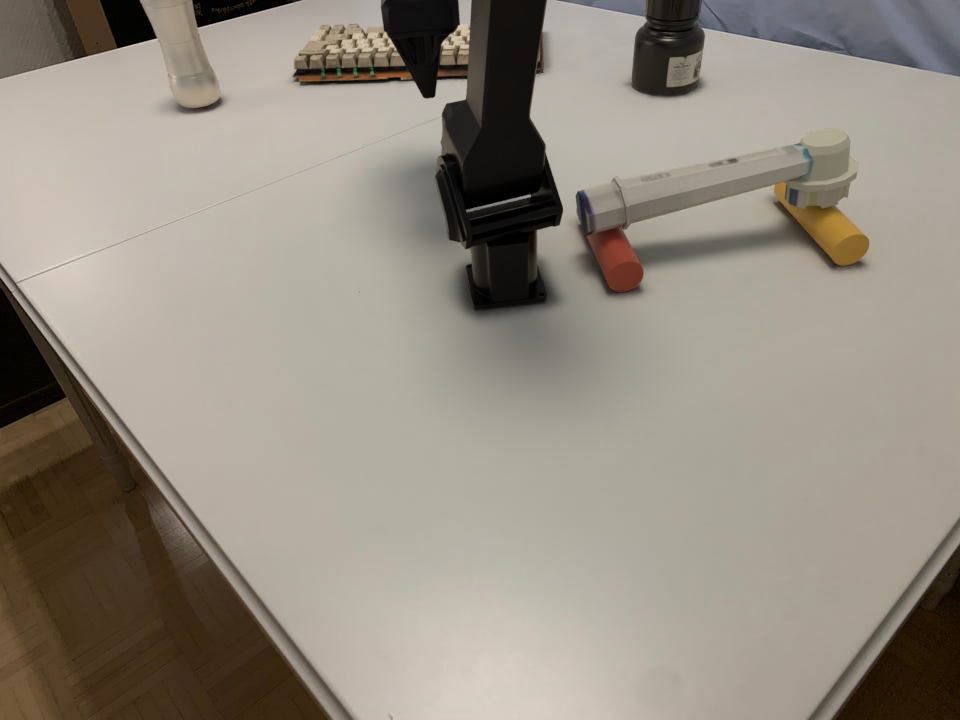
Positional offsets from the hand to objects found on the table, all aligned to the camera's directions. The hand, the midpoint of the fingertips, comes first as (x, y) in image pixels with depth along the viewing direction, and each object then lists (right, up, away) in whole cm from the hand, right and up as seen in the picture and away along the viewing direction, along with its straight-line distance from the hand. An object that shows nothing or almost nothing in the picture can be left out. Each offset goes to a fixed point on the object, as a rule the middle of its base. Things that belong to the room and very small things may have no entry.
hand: (427, 78), depth 69 cm
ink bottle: (+30, +10, +28) cm, 42 cm away
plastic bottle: (-35, +9, +32) cm, 48 cm away
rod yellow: (+37, -15, -2) cm, 40 cm away
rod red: (+17, -17, -3) cm, 24 cm away
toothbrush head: (+26, -14, -4) cm, 30 cm away
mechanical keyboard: (-4, +19, +41) cm, 45 cm away
